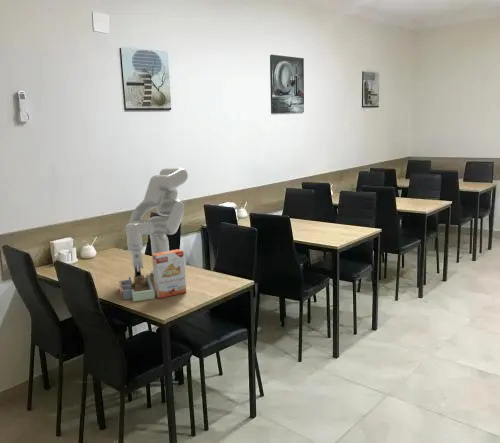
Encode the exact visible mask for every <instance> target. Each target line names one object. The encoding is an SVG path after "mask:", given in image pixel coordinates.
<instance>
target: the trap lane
mask: <svg viewBox="0 0 500 443" xmlns="http://www.w3.org/2000/svg"><path fill="white" fill-rule="evenodd" d="M145 276H146V283H147V286H148V290H141V291H135V290H134V288H133V283H132V277H131V276H128V279H125V280H119V281H118V284H119V292H120V293H119V294H120V299H121V300H126V299H128V300H129V299H132V302H137V301H143V300H150V299H155V298H156V295H155V287H153V284H152V282H151V279H150V275H149V274H146V275H145Z"/></svg>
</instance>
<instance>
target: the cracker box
mask: <svg viewBox="0 0 500 443" xmlns="http://www.w3.org/2000/svg"><path fill="white" fill-rule="evenodd" d="M151 258H152V259H151V260H152V270H153V273H154V275H153V283H154V294H155V297H157V298H158V299H164V298H168V297H172V296H176V295H181V294H185V293H187V286H186V285H187V284H186V268H185V253H184V251H183V250H182V249H178V248H177V249H171V250H169V251H165V252H160V253H154V254H152V253H151Z"/></svg>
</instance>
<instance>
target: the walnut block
mask: <svg viewBox="0 0 500 443" xmlns="http://www.w3.org/2000/svg"><path fill="white" fill-rule="evenodd" d="M133 282H134V288H135V289H141V288H146V279H145V275H144V274H141V275H140V276H135V275H134V276H133Z"/></svg>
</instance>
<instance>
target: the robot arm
mask: <svg viewBox="0 0 500 443" xmlns="http://www.w3.org/2000/svg"><path fill="white" fill-rule="evenodd" d="M188 176H189V174H188V171H187V170H186V169H185V168H182V167H166V168H162V169H161V170H160V172H159V174H156V175H153V176H151V177H150V180H149V183H148V185H147V188H146V192H145V195H144V198H143V200H142V201H141V202H140V203H139V204H138V205H137V206H136V207H135V209H133V211H132V213H131V215H130V219H129V223H127V224H126V225H125V231H126V232H125V233H126V241H127V242H126V243H127V250H128V252H130V257H131V264H132V267H133V270H134V276H140V275H142V272H141V269H144V261H143V255H142V254H143V253H142V250H143V249H144V247H143V245H144V244H143V236H147V235H149V238H150V239H149V240H150V247H151V255H152V254H154V253H160V252H165V251H170V245H169V244H170V243H169V238H168V236H167V235H174V234H176V233H177V232H178V229H179V227H180V225H181V222H182V220H183V216H184V214H185V204H184V202H183V201H182V200H180V199H177V198H178V194H179V193H178V189H177V188H178V187H180V186H181V185H183V184H184V183H186V181H187V180H188ZM153 209H156V213H157V214H158V215H155V216H152V217H150V218H149V219H143V218H144V215H145V214H146V213H147V212H149V211H151V210H153ZM150 274H151V275H153V276H154V273H153V269H151V271H150Z"/></svg>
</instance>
